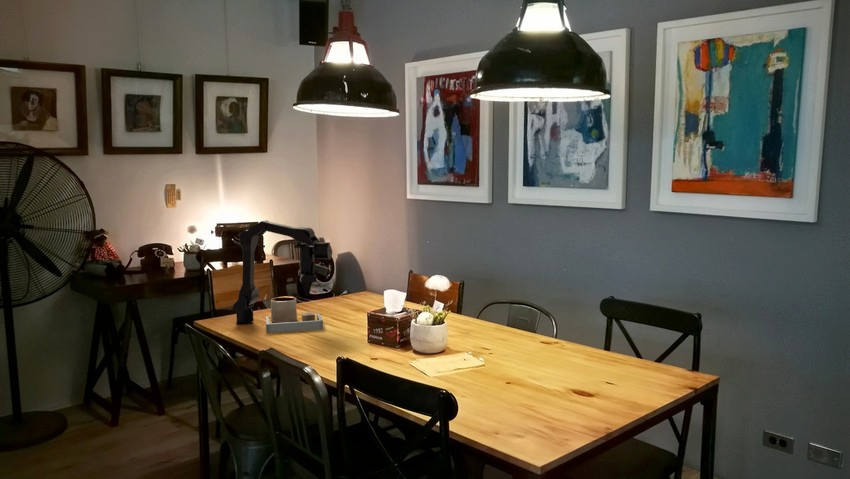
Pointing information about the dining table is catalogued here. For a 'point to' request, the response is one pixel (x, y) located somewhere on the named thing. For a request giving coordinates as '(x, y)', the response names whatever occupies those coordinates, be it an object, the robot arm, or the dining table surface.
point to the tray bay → (294, 325)
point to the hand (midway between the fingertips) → (307, 295)
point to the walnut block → (308, 316)
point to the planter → (283, 309)
